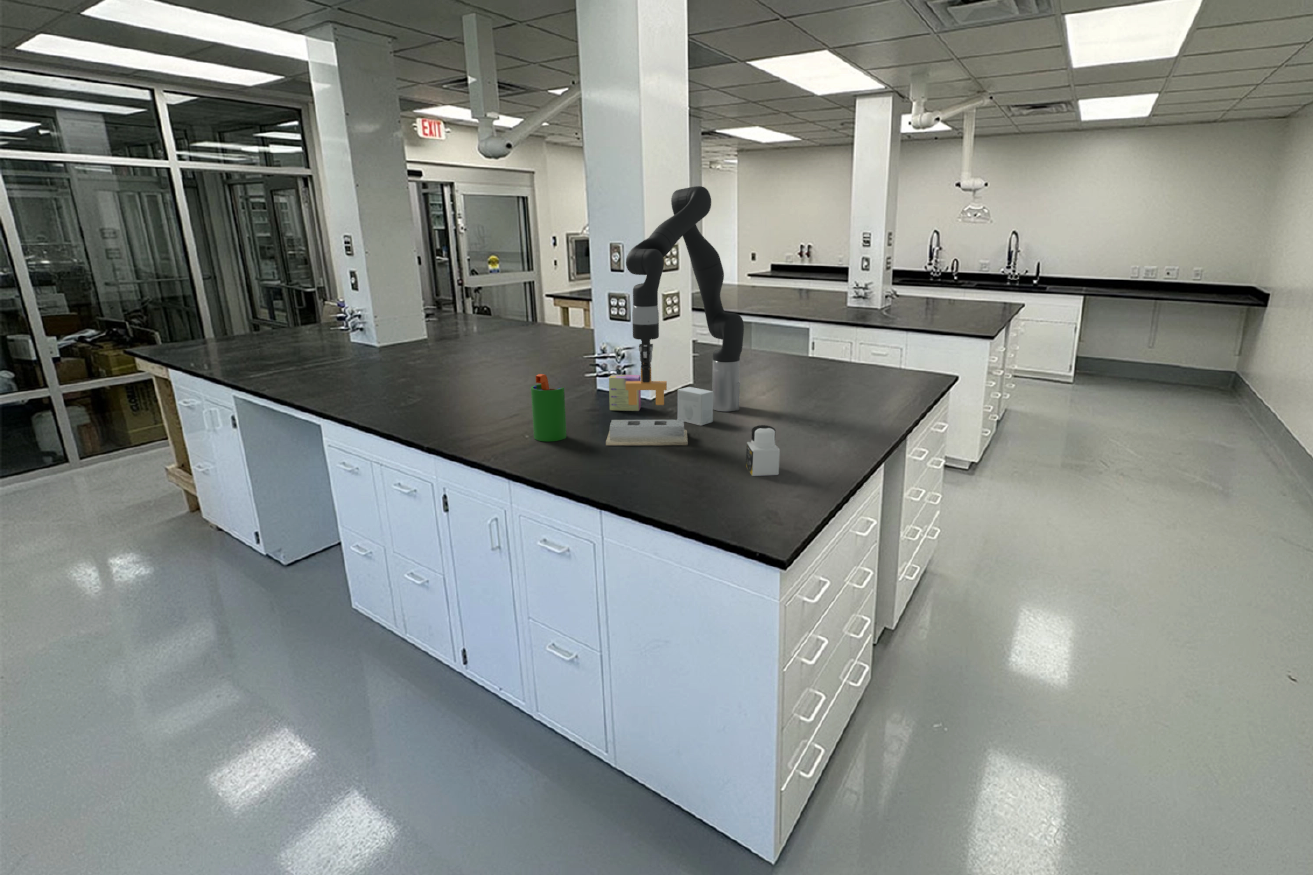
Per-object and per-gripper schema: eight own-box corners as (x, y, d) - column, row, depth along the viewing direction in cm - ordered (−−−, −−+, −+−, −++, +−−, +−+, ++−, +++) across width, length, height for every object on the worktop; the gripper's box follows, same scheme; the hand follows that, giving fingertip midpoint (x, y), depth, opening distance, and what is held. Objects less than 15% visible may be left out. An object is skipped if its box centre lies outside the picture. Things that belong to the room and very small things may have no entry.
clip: (666, 402, 195) (666, 366, 192) (666, 405, 192) (666, 368, 189) (626, 402, 195) (625, 366, 192) (625, 405, 192) (625, 368, 189)
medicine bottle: (745, 466, 174) (747, 423, 170) (771, 465, 174) (773, 422, 171) (751, 476, 167) (753, 431, 163) (778, 475, 167) (781, 430, 164)
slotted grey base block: (686, 432, 202) (686, 417, 201) (687, 445, 191) (687, 428, 189) (609, 433, 203) (609, 417, 202) (605, 445, 192) (605, 429, 190)
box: (641, 407, 232) (640, 374, 228) (639, 411, 226) (638, 378, 223) (612, 406, 233) (611, 374, 229) (609, 410, 227) (608, 377, 224)
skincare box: (713, 421, 214) (714, 390, 210) (701, 426, 209) (701, 394, 206) (689, 416, 220) (689, 385, 217) (676, 420, 216) (676, 389, 213)
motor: (571, 434, 202) (567, 371, 196) (557, 443, 194) (553, 377, 188) (542, 431, 205) (537, 369, 199) (527, 440, 197) (522, 375, 191)
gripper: (658, 325, 179) (658, 386, 185) (659, 318, 193) (659, 375, 198) (631, 325, 180) (632, 386, 185) (633, 318, 193) (634, 375, 198)
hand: (646, 380), depth 192 cm, fingers closed on clip, 2 cm apart
